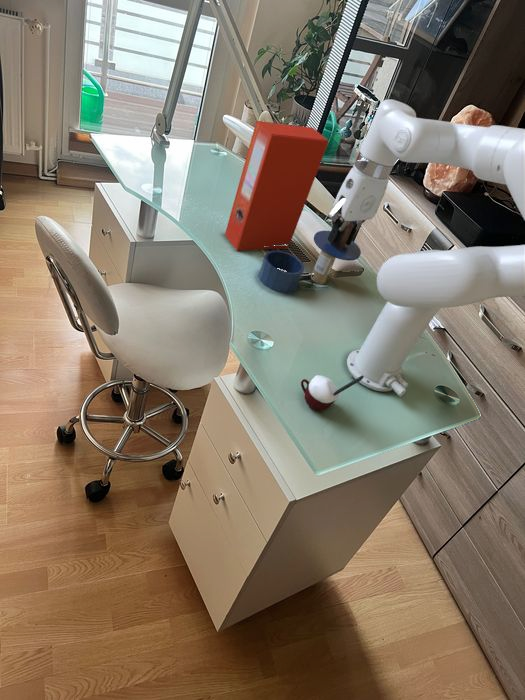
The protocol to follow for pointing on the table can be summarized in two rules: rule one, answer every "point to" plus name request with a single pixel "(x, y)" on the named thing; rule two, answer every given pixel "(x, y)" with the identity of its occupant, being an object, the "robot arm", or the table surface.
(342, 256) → the pot lid
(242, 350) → the table surface
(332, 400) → the cocoa
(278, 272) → the pot
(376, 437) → the table surface
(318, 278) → the sprinkles bottle
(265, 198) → the file binder
